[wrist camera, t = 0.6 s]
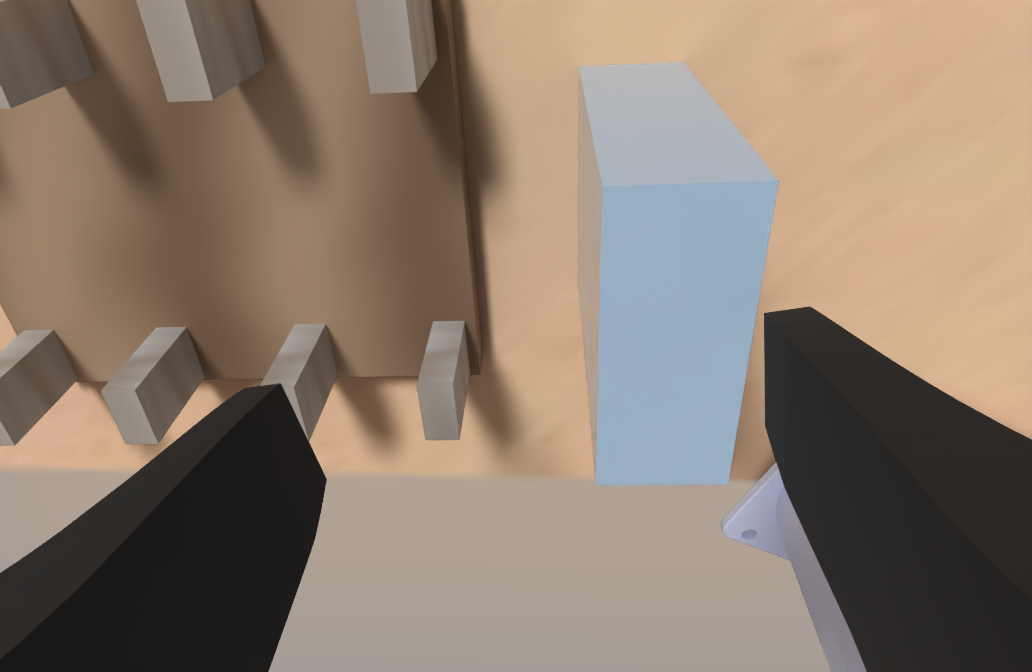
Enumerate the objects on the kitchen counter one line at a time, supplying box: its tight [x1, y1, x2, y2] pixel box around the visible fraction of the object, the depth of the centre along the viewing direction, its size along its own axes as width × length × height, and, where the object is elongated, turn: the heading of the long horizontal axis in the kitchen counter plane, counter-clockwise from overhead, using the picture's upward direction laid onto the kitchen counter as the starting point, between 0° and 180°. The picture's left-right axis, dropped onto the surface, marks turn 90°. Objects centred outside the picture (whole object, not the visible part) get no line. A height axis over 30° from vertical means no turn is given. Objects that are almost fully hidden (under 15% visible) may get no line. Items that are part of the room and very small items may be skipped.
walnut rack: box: [0, 0, 483, 446], centre depth 17 cm, size 14×11×4 cm
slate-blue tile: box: [578, 62, 779, 486], centre depth 15 cm, size 2×6×8 cm, turn 3°
